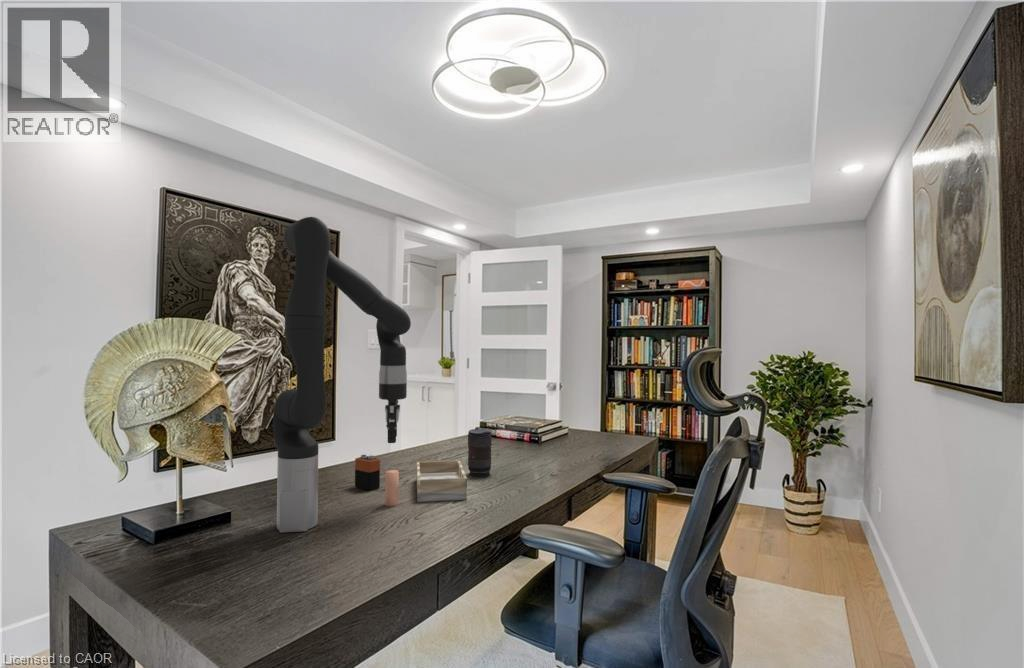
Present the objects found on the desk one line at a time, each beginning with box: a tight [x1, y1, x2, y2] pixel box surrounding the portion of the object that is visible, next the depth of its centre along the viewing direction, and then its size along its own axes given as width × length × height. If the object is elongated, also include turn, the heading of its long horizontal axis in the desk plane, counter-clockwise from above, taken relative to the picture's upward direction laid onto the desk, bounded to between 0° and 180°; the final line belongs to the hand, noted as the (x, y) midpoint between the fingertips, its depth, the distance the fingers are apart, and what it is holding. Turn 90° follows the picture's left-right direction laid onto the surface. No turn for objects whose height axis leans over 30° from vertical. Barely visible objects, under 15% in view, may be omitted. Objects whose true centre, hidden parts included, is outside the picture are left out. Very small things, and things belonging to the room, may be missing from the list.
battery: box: [354, 454, 381, 492], centre depth 158 cm, size 4×7×10 cm, turn 58°
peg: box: [384, 469, 400, 507], centre depth 142 cm, size 4×4×9 cm
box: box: [416, 460, 468, 503], centre depth 157 cm, size 22×14×6 cm, turn 11°
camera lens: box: [467, 428, 493, 478], centre depth 174 cm, size 8×8×15 cm
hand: (392, 439), depth 143 cm, fingers open, 8 cm apart
